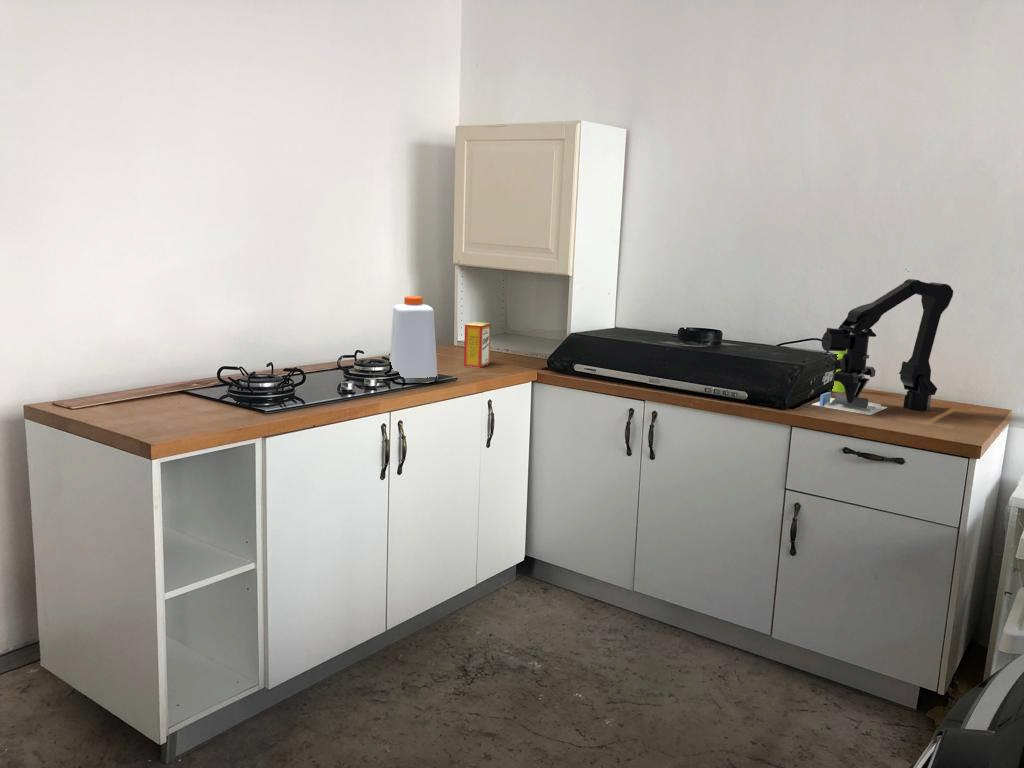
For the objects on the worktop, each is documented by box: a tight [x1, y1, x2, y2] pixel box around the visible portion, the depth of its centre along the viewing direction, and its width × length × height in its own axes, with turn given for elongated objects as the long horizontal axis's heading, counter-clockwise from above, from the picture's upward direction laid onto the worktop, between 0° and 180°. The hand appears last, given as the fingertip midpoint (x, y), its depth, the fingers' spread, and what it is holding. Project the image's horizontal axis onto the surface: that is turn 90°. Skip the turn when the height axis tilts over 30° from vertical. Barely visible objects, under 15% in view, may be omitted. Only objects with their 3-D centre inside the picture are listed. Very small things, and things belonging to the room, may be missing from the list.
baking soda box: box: [463, 321, 492, 368], centre depth 318 cm, size 10×6×16 cm
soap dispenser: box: [831, 349, 847, 393], centre depth 287 cm, size 6×7×20 cm
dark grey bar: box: [834, 393, 869, 409], centre depth 259 cm, size 9×3×3 cm, turn 48°
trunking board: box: [811, 391, 888, 416], centre depth 264 cm, size 18×15×4 cm
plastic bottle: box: [389, 295, 438, 378], centre depth 286 cm, size 15×15×28 cm
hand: (851, 402), depth 259 cm, fingers closed on dark grey bar, 3 cm apart
